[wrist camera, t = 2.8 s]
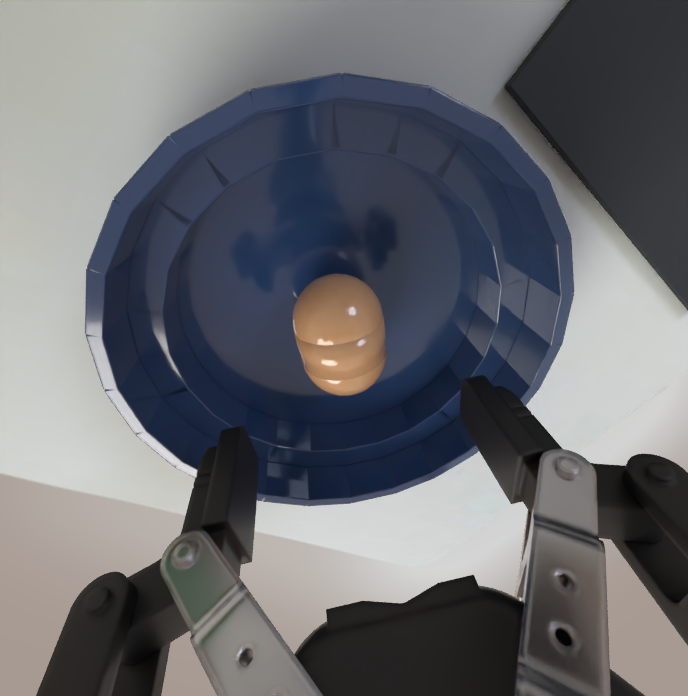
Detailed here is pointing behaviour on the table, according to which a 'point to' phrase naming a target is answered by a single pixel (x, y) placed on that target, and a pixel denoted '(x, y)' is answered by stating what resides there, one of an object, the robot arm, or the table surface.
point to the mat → (620, 116)
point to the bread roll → (340, 334)
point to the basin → (320, 259)
